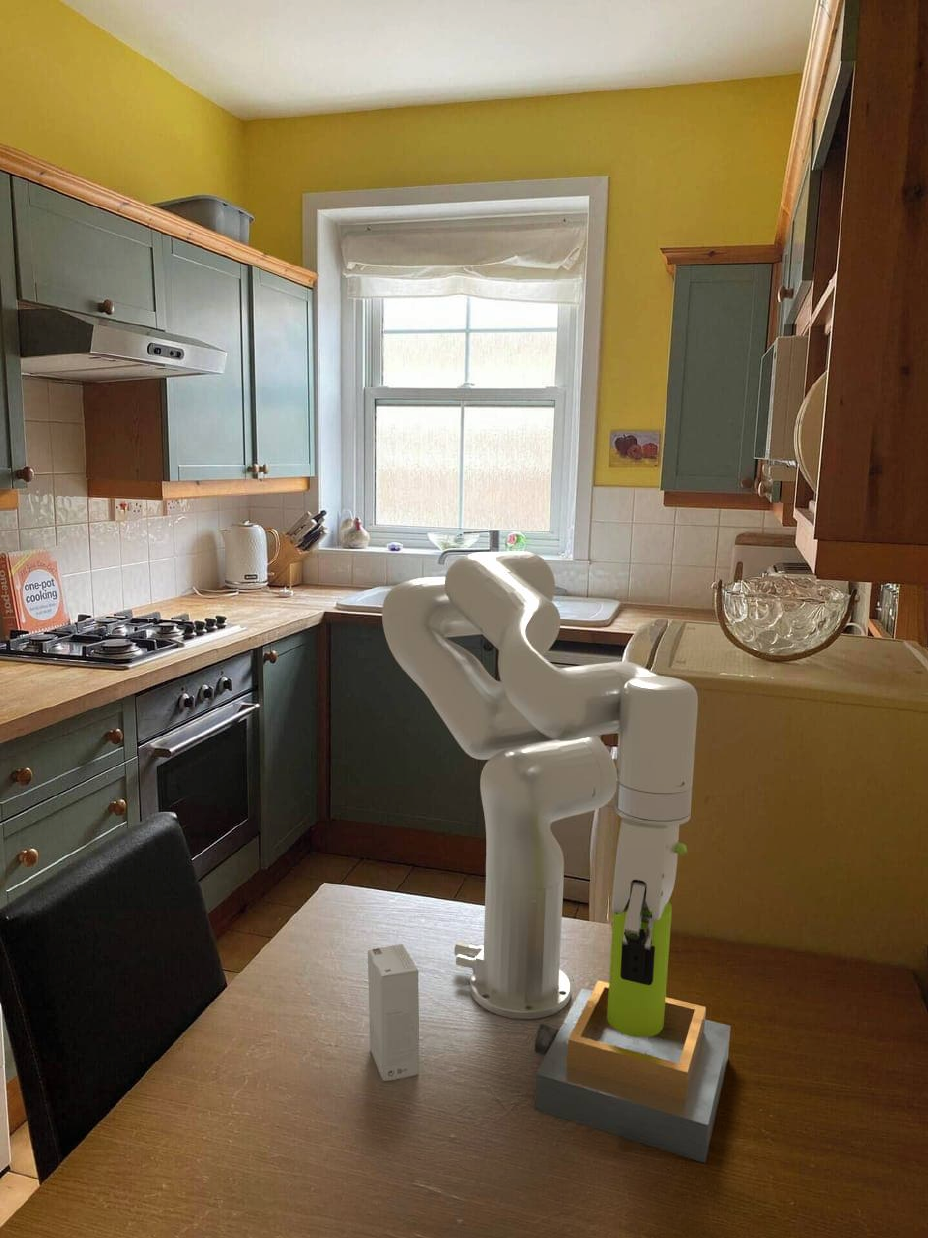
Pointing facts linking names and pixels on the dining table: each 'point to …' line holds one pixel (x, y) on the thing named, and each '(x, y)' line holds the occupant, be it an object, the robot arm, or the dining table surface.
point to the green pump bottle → (634, 1002)
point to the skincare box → (393, 1012)
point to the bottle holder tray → (635, 1074)
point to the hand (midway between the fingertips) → (643, 963)
